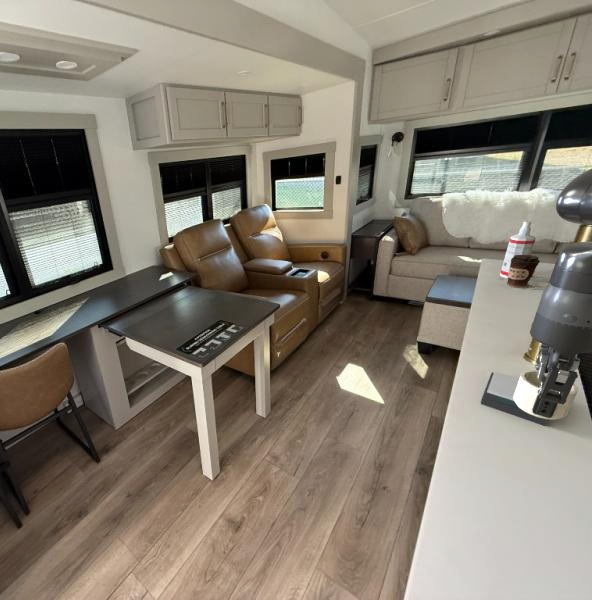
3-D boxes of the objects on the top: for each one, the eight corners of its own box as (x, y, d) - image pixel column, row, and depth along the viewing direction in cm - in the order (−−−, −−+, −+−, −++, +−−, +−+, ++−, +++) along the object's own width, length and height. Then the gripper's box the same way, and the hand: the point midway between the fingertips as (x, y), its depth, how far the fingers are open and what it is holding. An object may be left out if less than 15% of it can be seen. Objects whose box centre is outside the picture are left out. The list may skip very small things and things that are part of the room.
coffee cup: (524, 290, 131) (533, 260, 126) (499, 285, 138) (507, 256, 133) (535, 285, 134) (545, 256, 129) (510, 280, 141) (518, 252, 136)
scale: (489, 378, 86) (492, 369, 85) (549, 396, 78) (552, 386, 77) (480, 403, 78) (483, 394, 77) (544, 426, 71) (549, 416, 69)
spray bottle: (498, 277, 146) (514, 222, 136) (500, 272, 150) (516, 219, 140) (522, 279, 140) (540, 223, 131) (524, 275, 145) (541, 220, 135)
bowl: (527, 391, 57) (536, 366, 55) (575, 414, 52) (588, 387, 49) (502, 401, 56) (511, 376, 54) (549, 426, 50) (561, 399, 48)
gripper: (626, 342, 40) (579, 440, 46) (605, 300, 49) (569, 387, 55) (539, 328, 45) (508, 418, 51) (535, 292, 54) (509, 373, 60)
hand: (540, 401), depth 53 cm, fingers closed on bowl, 6 cm apart
